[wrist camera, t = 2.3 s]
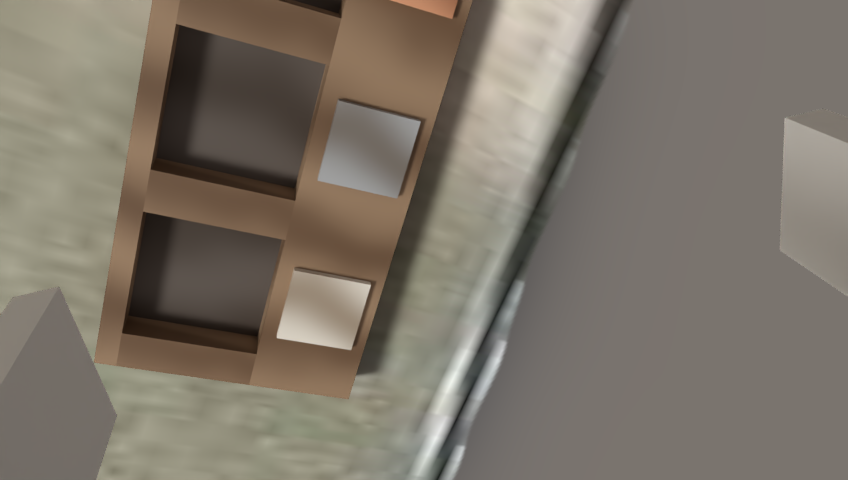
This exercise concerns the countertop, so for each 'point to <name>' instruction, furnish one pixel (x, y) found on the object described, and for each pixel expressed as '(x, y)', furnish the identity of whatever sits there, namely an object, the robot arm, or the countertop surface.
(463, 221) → the countertop surface
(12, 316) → the robot arm
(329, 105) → the socket plate
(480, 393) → the countertop surface
